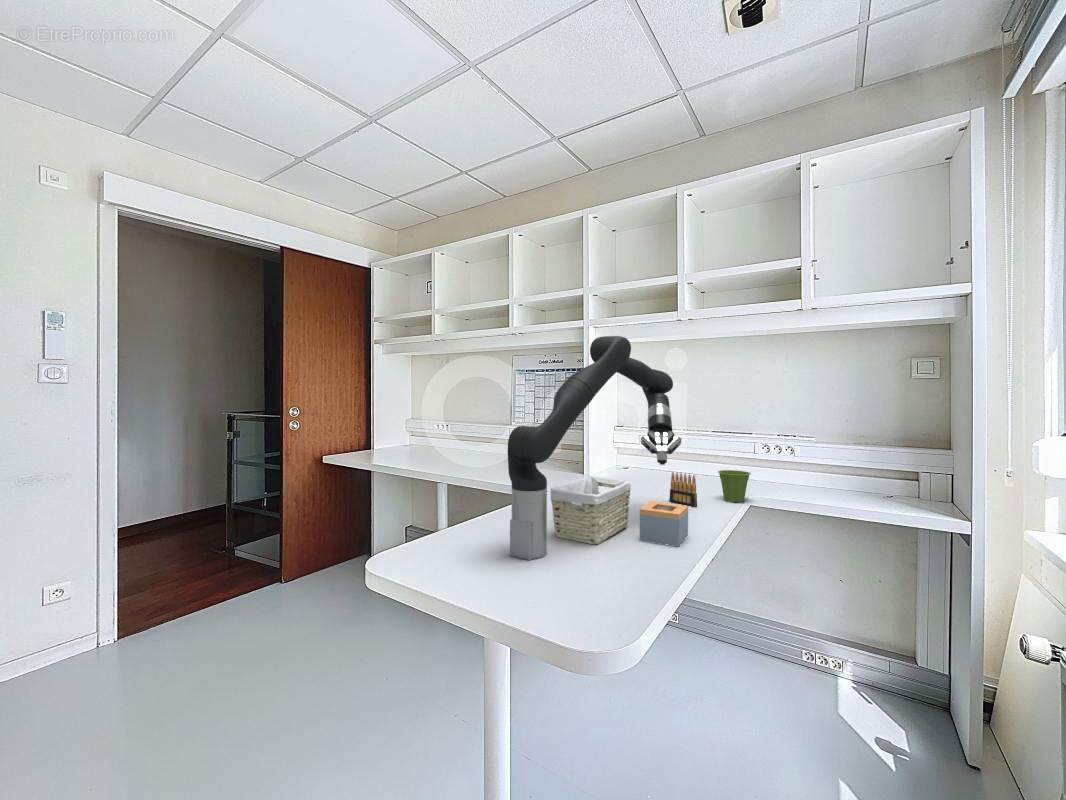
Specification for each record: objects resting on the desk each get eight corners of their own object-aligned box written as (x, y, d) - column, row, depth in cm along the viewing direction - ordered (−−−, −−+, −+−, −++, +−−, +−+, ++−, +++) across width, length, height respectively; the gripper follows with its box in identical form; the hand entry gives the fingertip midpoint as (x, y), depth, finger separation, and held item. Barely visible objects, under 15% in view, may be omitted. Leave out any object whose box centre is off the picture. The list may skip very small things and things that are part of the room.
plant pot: (752, 499, 186) (752, 471, 186) (748, 505, 176) (748, 475, 176) (720, 496, 192) (720, 468, 192) (714, 502, 182) (715, 472, 182)
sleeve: (678, 547, 129) (679, 514, 129) (639, 540, 135) (639, 509, 134) (687, 536, 138) (688, 506, 138) (650, 530, 144) (651, 501, 144)
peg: (668, 541, 134) (668, 509, 134) (654, 539, 136) (654, 508, 136) (672, 537, 137) (672, 506, 137) (658, 535, 139) (658, 505, 139)
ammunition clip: (669, 502, 181) (669, 471, 181) (671, 501, 182) (672, 470, 182) (694, 507, 173) (695, 475, 173) (697, 506, 174) (697, 474, 174)
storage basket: (596, 548, 128) (597, 494, 128) (547, 537, 138) (547, 487, 137) (632, 527, 148) (633, 480, 147) (587, 519, 157) (587, 475, 157)
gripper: (639, 412, 154) (640, 455, 142) (681, 413, 151) (686, 456, 140) (638, 427, 159) (639, 469, 147) (679, 428, 157) (683, 471, 145)
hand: (662, 463), depth 143 cm, fingers closed
